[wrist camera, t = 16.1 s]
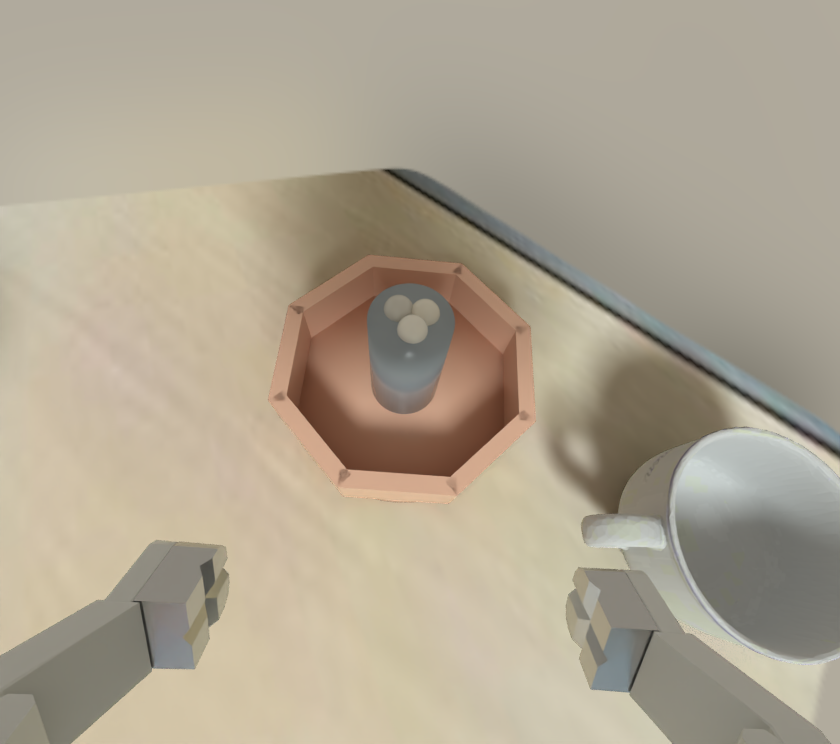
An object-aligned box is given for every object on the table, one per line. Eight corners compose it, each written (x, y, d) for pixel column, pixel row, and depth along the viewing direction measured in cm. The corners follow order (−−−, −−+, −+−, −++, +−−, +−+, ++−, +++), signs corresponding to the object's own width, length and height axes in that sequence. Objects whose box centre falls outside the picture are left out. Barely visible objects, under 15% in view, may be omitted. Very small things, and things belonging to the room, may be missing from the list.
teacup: (750, 478, 30) (865, 451, 23) (769, 657, 26) (921, 694, 18) (555, 434, 30) (608, 393, 23) (541, 603, 26) (601, 618, 19)
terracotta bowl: (270, 493, 27) (250, 481, 23) (311, 286, 34) (301, 248, 30) (517, 510, 28) (540, 501, 24) (510, 304, 35) (527, 269, 31)
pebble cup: (367, 411, 29) (361, 348, 21) (374, 351, 31) (371, 270, 22) (435, 416, 29) (456, 356, 21) (437, 356, 31) (458, 278, 23)
